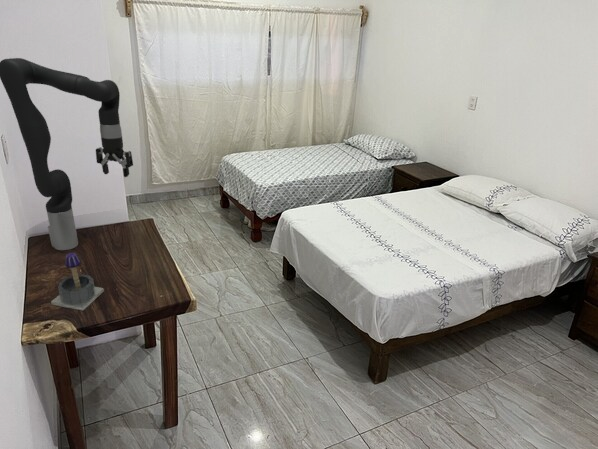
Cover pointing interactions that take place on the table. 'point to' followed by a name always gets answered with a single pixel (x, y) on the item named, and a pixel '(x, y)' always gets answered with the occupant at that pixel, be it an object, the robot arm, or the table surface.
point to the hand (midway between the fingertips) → (116, 175)
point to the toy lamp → (73, 267)
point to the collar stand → (77, 293)
